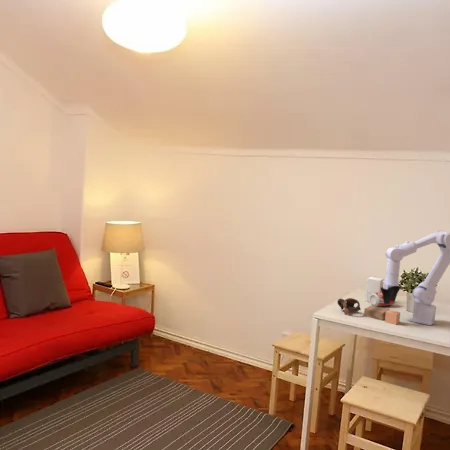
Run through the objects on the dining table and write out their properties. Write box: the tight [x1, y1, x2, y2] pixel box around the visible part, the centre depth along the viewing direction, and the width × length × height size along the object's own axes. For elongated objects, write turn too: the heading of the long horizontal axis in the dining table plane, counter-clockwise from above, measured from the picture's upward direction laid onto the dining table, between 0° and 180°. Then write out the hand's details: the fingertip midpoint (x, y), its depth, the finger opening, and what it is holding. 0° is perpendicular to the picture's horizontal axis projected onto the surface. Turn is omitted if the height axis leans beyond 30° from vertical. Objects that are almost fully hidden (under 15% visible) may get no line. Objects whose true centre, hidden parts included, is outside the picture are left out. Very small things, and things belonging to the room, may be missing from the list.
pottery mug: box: [336, 297, 362, 315], centre depth 231 cm, size 12×10×8 cm
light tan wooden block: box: [363, 304, 391, 321], centre depth 228 cm, size 9×9×4 cm
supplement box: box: [365, 276, 385, 303], centre depth 257 cm, size 7×7×13 cm
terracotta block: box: [384, 309, 401, 326], centre depth 219 cm, size 5×5×5 cm
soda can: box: [370, 292, 396, 307], centre depth 249 cm, size 7×7×12 cm
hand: (389, 302), depth 222 cm, fingers open, 7 cm apart
